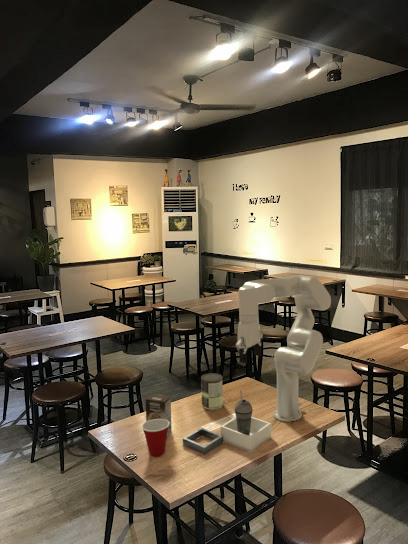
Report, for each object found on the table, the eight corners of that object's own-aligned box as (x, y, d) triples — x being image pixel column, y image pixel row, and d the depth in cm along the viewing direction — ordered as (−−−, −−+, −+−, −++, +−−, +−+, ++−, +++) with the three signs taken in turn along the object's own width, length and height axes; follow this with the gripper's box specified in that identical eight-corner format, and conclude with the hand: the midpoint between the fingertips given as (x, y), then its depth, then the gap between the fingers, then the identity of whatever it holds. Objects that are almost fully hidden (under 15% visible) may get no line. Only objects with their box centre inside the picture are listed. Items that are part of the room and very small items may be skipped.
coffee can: (198, 408, 207) (197, 379, 205) (205, 399, 217) (205, 372, 215) (219, 411, 204) (218, 382, 202) (225, 402, 213) (225, 374, 211)
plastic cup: (159, 442, 177) (158, 414, 175) (176, 452, 169) (175, 423, 167) (136, 453, 169) (135, 423, 168) (153, 464, 162) (152, 433, 160)
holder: (201, 434, 183) (201, 427, 182) (223, 442, 175) (223, 435, 175) (183, 445, 174) (182, 438, 174) (204, 455, 167) (204, 447, 166)
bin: (241, 426, 188) (241, 413, 187) (271, 437, 179) (271, 423, 178) (220, 440, 177) (220, 426, 176) (250, 452, 168) (250, 437, 167)
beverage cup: (252, 442, 173) (251, 394, 171) (233, 440, 175) (233, 393, 172) (253, 433, 180) (253, 386, 178) (236, 432, 182) (235, 385, 179)
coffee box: (146, 435, 182) (144, 399, 180) (153, 428, 188) (151, 392, 186) (166, 439, 179) (164, 401, 177) (172, 431, 185) (171, 395, 183)
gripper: (253, 311, 182) (254, 351, 185) (228, 321, 169) (230, 363, 172) (268, 313, 177) (270, 354, 180) (243, 324, 164) (245, 367, 167)
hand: (250, 358), depth 176 cm, fingers open, 9 cm apart
